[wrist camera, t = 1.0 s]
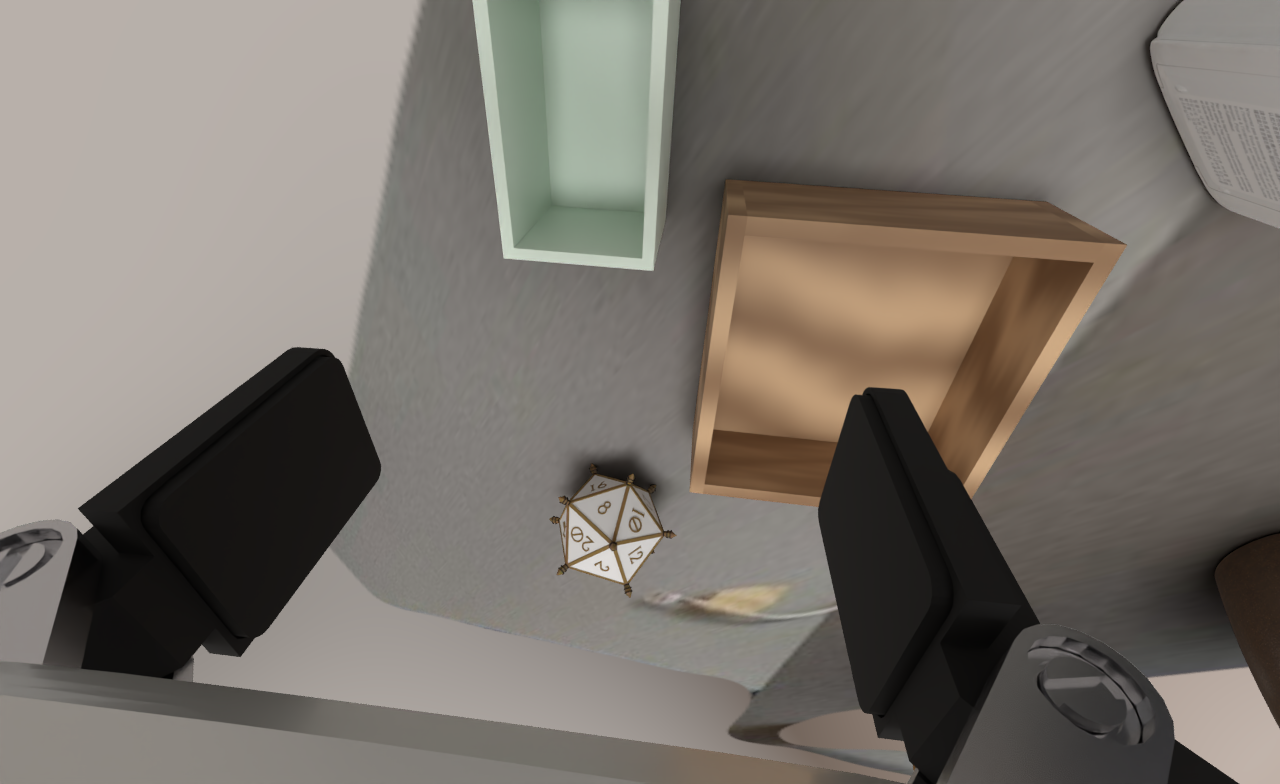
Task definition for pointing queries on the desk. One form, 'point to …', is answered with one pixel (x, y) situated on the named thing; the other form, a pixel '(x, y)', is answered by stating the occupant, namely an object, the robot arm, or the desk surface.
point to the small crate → (580, 125)
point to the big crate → (879, 325)
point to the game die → (609, 528)
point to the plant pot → (1255, 610)
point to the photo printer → (1226, 97)
